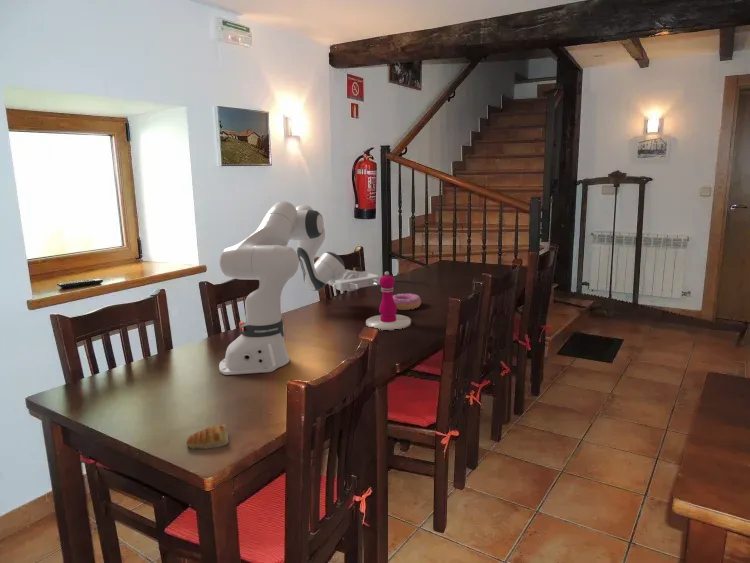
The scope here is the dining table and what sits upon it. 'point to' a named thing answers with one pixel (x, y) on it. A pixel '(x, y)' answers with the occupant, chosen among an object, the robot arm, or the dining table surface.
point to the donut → (407, 301)
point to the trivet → (398, 324)
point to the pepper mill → (387, 299)
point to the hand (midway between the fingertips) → (368, 285)
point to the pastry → (209, 438)
